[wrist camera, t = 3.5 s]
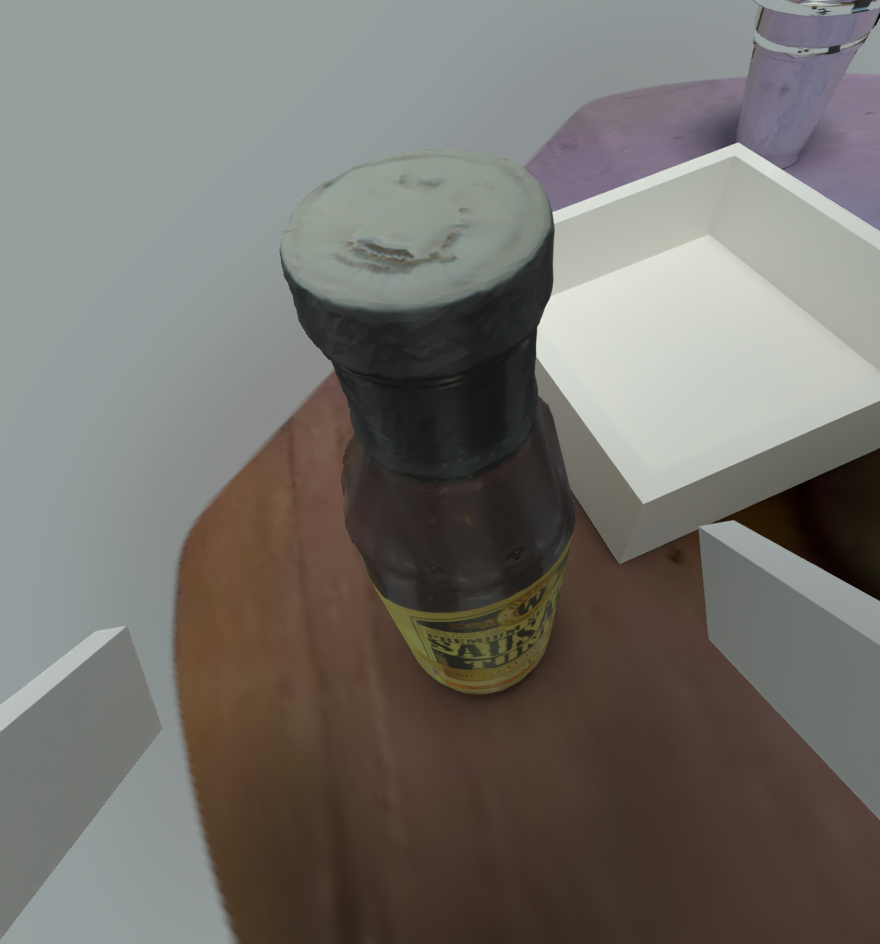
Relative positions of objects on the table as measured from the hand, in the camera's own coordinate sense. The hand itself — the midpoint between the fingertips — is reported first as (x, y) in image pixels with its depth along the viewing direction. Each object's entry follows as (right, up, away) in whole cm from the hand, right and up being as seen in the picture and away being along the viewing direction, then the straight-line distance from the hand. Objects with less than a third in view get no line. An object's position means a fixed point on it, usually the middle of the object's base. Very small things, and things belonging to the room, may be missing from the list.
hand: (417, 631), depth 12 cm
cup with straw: (+25, +28, +28) cm, 47 cm away
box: (+14, +10, +18) cm, 25 cm away
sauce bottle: (+3, -3, +12) cm, 13 cm away
